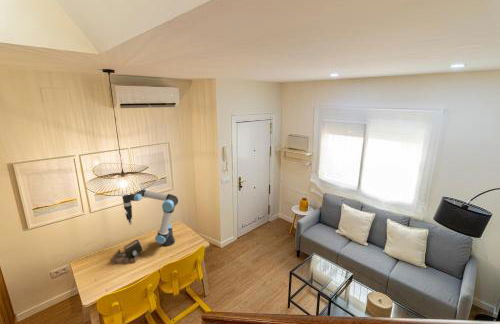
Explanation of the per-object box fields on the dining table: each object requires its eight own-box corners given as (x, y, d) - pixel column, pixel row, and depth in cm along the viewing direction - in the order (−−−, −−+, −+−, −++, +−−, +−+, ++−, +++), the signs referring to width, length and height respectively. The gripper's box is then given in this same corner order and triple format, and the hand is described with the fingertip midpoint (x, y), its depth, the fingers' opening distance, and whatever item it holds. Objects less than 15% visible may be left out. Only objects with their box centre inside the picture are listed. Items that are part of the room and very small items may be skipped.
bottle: (140, 244, 280) (144, 252, 259) (126, 252, 273) (129, 261, 251) (137, 238, 278) (140, 246, 257) (123, 246, 270) (125, 255, 249)
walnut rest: (141, 252, 272) (140, 248, 271) (135, 262, 255) (134, 258, 254) (119, 253, 271) (118, 249, 269) (111, 264, 253) (110, 259, 252)
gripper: (126, 203, 273) (129, 221, 279) (121, 208, 260) (124, 227, 267) (133, 202, 274) (136, 221, 280) (128, 207, 261) (131, 227, 267)
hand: (130, 224), depth 273 cm, fingers closed
